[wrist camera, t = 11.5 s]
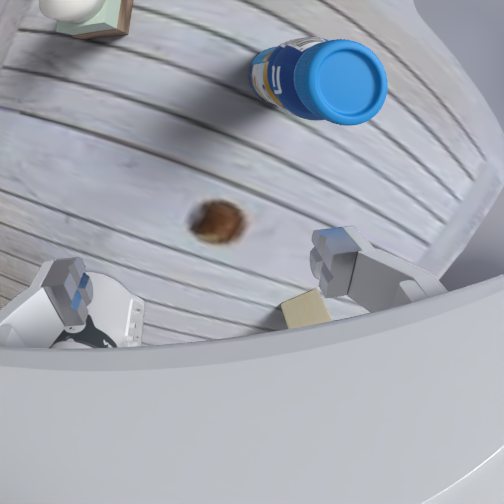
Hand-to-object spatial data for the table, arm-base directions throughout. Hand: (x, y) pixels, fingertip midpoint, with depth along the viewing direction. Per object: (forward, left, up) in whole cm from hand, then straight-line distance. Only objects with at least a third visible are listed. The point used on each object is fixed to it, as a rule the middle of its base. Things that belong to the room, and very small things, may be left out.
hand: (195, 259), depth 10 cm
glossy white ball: (+15, +13, -21) cm, 29 cm away
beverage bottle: (+7, -10, -31) cm, 34 cm away
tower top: (+15, +13, -26) cm, 33 cm away
